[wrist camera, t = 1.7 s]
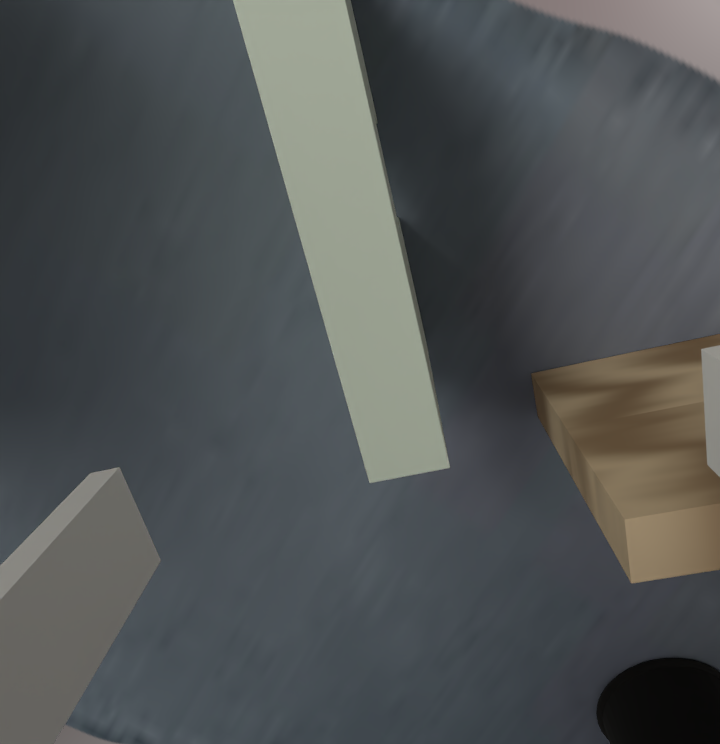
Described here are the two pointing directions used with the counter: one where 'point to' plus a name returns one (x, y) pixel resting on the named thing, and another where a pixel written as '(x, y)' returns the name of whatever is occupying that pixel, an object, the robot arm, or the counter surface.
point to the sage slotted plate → (347, 225)
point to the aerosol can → (662, 704)
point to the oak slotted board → (640, 454)
